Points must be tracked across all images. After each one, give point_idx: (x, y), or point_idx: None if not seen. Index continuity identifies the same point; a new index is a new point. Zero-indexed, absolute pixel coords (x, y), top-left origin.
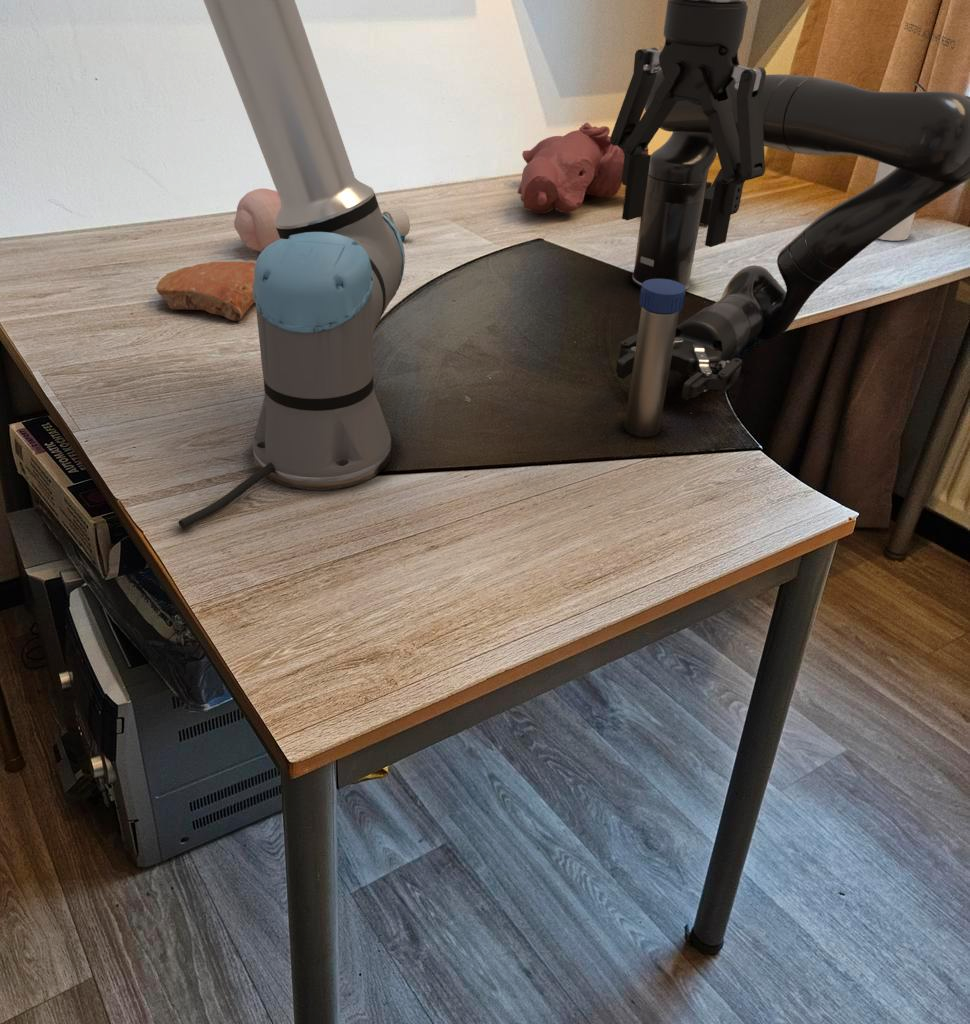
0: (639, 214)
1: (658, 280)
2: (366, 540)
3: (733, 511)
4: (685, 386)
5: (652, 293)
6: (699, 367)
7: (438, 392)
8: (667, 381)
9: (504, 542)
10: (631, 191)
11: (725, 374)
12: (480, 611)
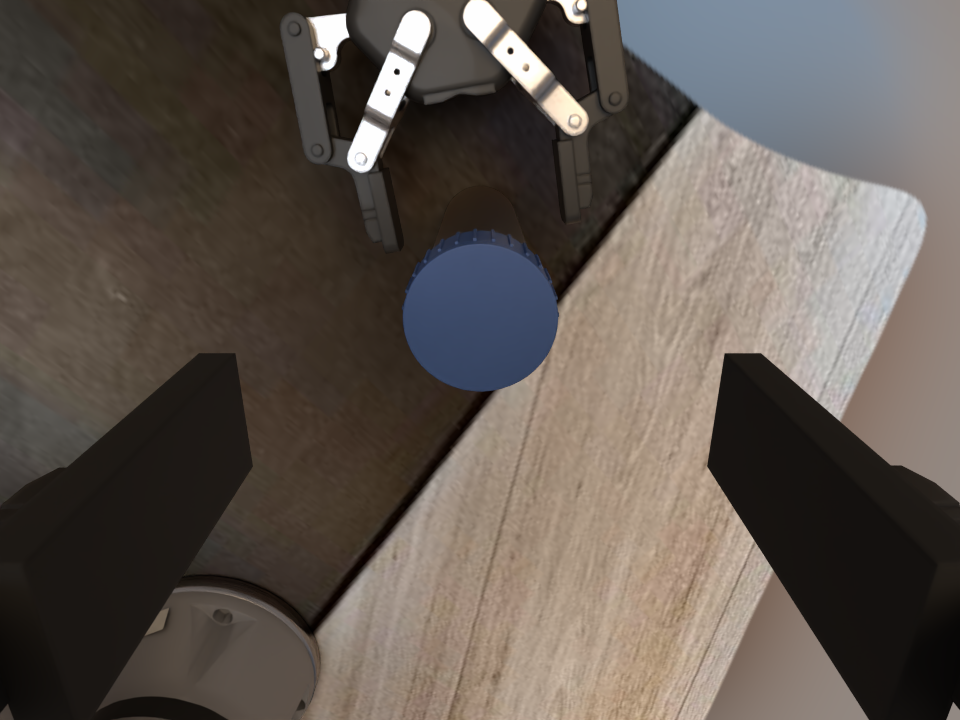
0: (235, 387)
1: (431, 290)
2: (431, 715)
3: (764, 335)
4: (571, 223)
5: (488, 389)
6: (544, 110)
7: None
8: (517, 222)
9: (551, 618)
10: (193, 557)
11: (621, 96)
12: (620, 707)
